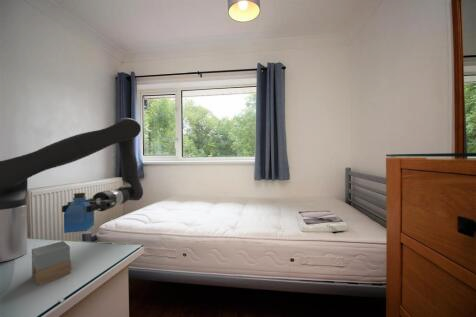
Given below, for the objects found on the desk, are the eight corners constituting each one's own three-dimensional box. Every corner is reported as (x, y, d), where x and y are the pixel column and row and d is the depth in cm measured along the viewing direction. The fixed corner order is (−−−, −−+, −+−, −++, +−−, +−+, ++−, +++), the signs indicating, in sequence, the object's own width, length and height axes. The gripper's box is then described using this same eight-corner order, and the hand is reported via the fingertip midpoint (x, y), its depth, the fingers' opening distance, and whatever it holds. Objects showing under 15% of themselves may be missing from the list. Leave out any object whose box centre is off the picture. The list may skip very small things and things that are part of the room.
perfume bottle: (86, 230, 68) (86, 194, 68) (64, 232, 66) (63, 195, 66) (93, 225, 74) (93, 191, 74) (73, 226, 72) (73, 192, 72)
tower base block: (32, 277, 58) (31, 263, 58) (63, 266, 64) (63, 253, 64) (37, 286, 54) (37, 271, 54) (70, 273, 60) (70, 260, 60)
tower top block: (32, 263, 59) (31, 249, 59) (63, 253, 64) (63, 241, 64) (36, 270, 54) (36, 255, 54) (70, 260, 60) (69, 246, 60)
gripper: (91, 190, 84) (54, 198, 68) (125, 190, 84) (95, 198, 68) (91, 208, 84) (54, 220, 68) (125, 208, 84) (95, 220, 68)
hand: (75, 209), depth 68 cm, fingers closed on perfume bottle, 8 cm apart
